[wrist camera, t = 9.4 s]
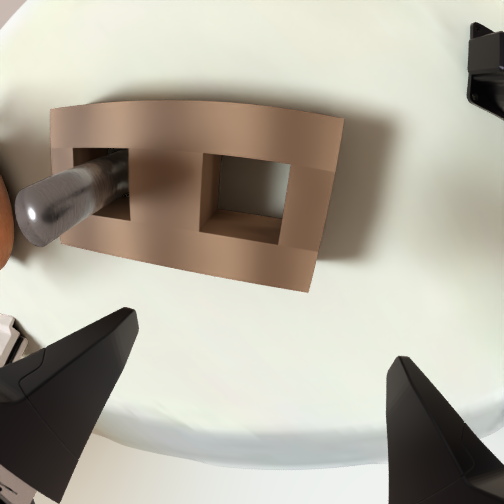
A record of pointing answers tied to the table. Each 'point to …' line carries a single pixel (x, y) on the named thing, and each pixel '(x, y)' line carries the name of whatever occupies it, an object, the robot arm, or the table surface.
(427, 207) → the table surface
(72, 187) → the peg
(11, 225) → the ceramic jug
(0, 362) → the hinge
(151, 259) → the hole block
